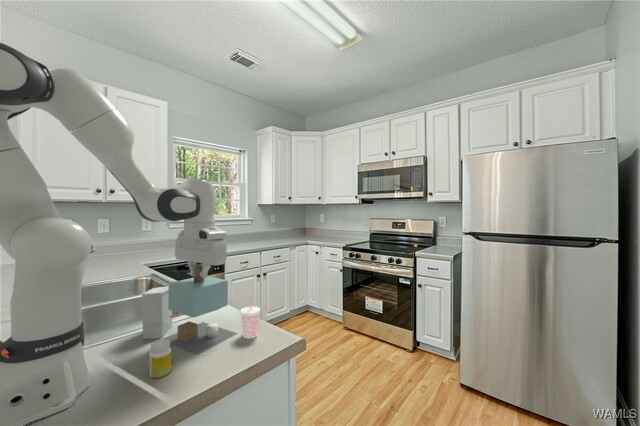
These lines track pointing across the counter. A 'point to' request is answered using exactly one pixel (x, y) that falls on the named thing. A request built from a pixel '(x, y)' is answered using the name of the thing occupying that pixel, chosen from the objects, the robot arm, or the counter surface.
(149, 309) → the skincare box
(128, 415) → the counter surface
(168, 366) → the supplement bottle
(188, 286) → the cover
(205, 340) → the mat
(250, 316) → the beverage cup
